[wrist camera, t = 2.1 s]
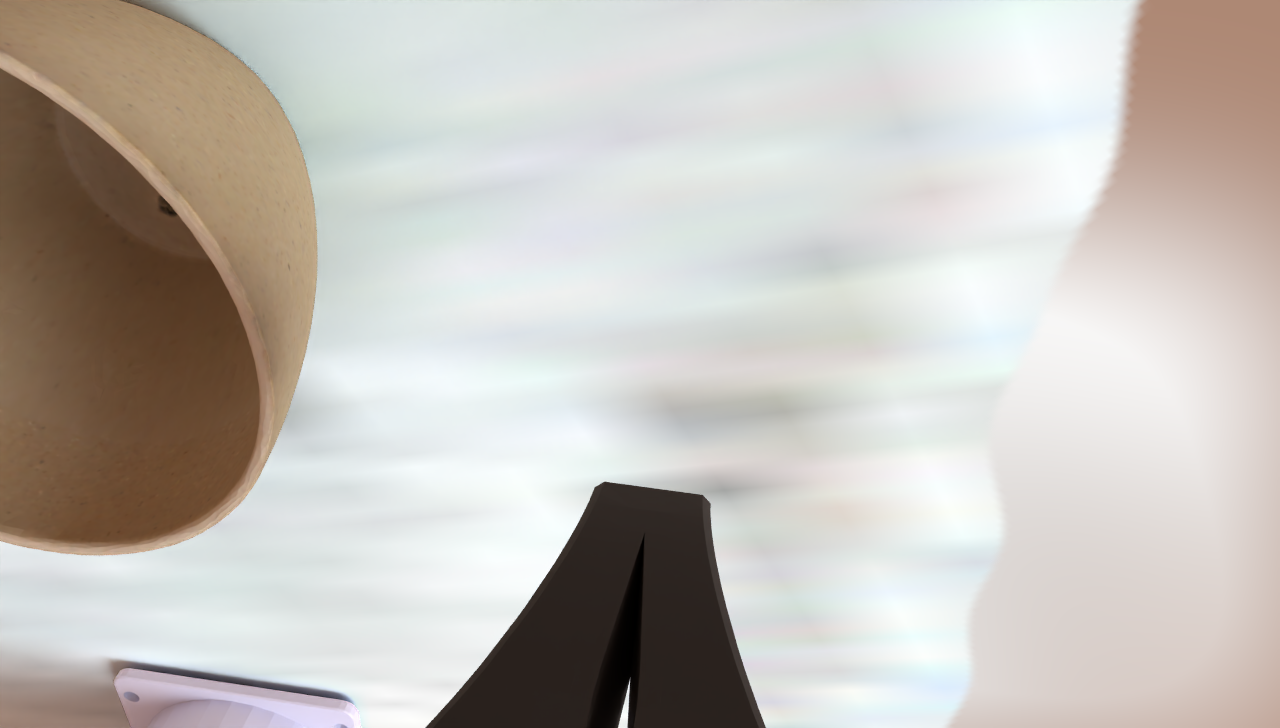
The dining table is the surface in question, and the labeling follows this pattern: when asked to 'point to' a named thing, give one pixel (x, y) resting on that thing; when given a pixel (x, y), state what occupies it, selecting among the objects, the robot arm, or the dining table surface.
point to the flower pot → (141, 277)
